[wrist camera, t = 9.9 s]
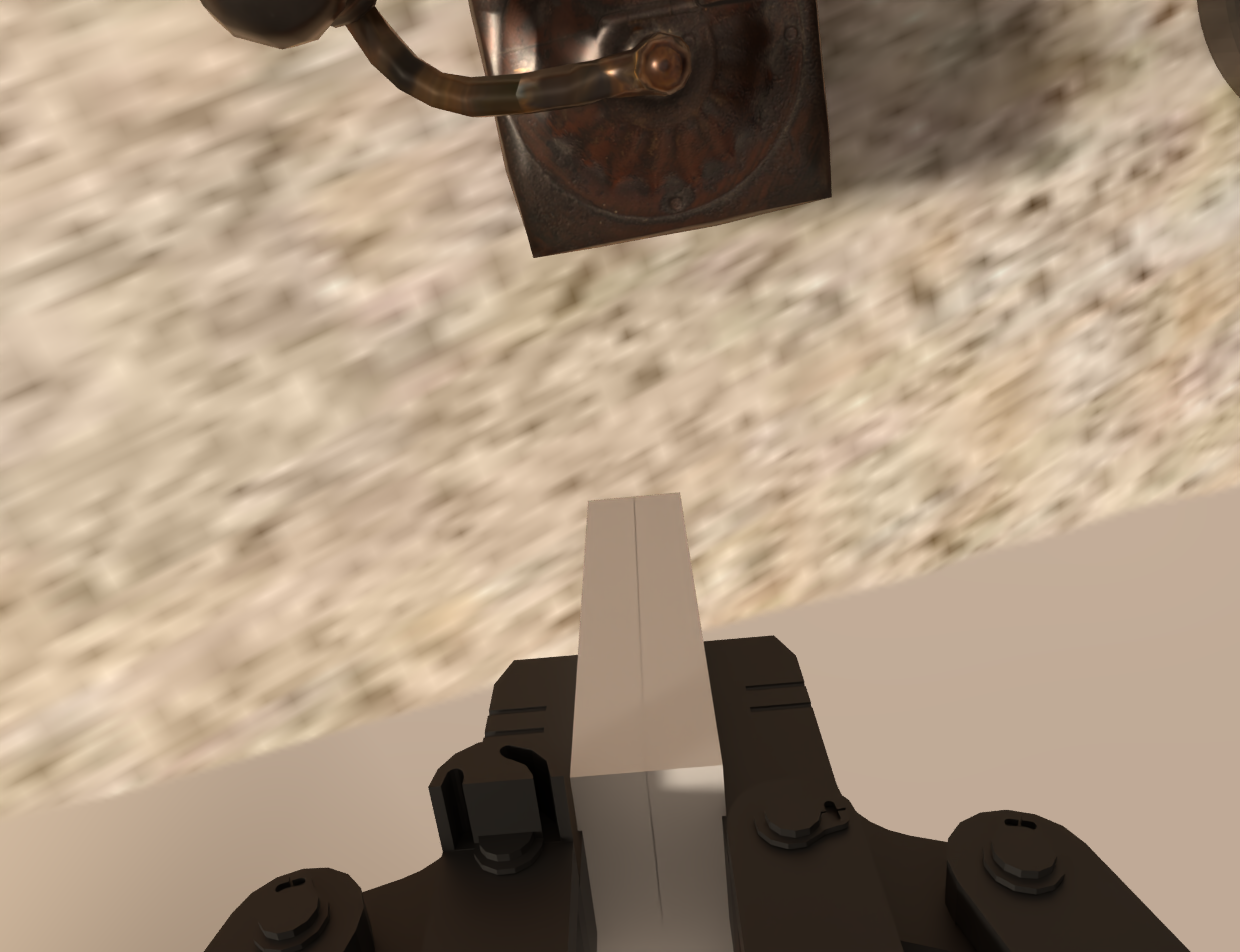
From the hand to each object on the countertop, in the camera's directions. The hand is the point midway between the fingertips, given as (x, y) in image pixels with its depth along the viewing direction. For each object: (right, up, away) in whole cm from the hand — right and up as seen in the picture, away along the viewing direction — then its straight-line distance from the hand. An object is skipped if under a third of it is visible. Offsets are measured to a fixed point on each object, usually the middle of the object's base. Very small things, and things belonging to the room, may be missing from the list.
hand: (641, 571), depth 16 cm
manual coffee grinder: (-2, +18, +22) cm, 28 cm away
